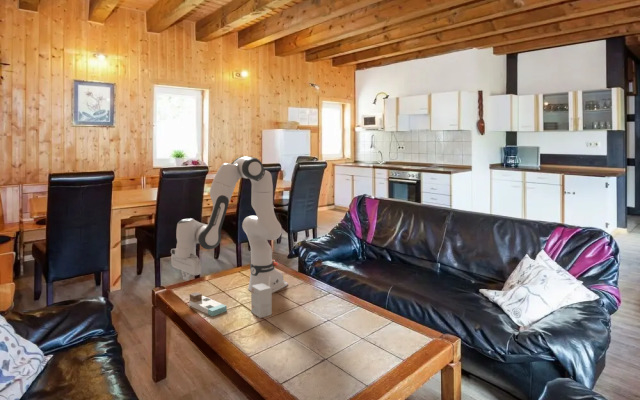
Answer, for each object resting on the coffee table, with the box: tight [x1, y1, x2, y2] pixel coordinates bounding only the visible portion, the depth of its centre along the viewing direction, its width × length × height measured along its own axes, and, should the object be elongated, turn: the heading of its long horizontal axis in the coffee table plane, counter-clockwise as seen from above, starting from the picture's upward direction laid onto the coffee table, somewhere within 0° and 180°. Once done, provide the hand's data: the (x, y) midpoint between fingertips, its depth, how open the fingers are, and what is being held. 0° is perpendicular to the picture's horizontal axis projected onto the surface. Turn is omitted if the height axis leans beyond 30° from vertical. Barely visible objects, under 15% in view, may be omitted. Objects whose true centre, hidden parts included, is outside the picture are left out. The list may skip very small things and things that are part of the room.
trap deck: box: [188, 295, 228, 317], centre depth 194 cm, size 8×18×2 cm, turn 50°
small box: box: [250, 283, 273, 319], centre depth 189 cm, size 8×6×13 cm
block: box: [189, 291, 203, 303], centre depth 197 cm, size 4×4×3 cm
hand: (186, 279), depth 200 cm, fingers closed
